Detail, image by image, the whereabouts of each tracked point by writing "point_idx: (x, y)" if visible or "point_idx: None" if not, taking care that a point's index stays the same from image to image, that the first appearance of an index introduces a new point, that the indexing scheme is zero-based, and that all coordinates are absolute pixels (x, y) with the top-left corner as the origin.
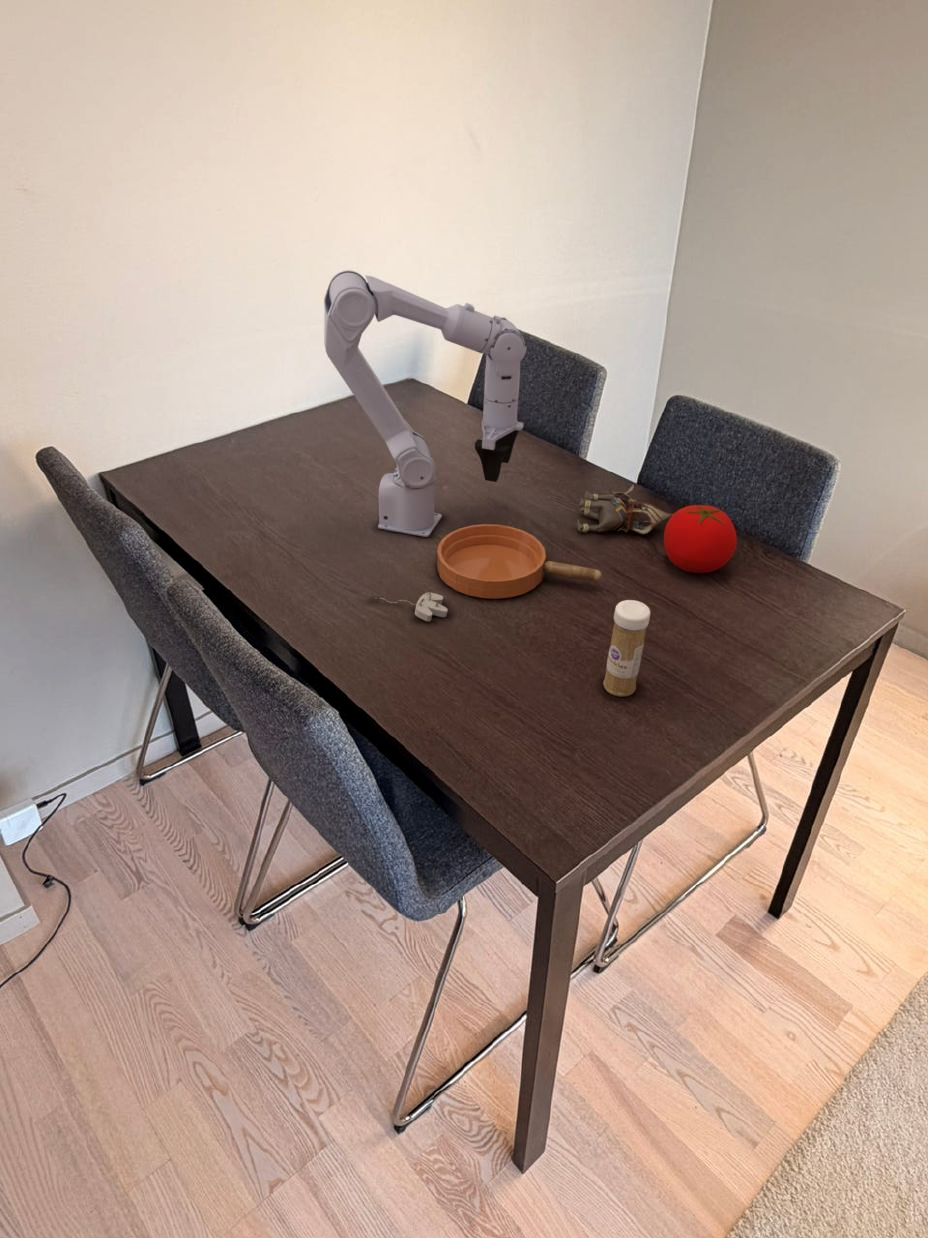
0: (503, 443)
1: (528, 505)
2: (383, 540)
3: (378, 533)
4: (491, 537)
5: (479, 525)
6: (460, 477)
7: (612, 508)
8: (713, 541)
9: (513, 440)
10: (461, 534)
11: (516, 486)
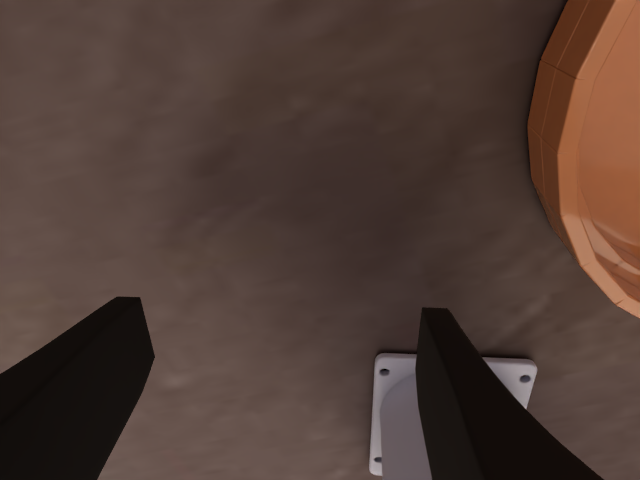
0: (69, 446)
1: (139, 70)
2: None
3: None
4: (577, 157)
5: (580, 238)
6: None
7: None
8: None
9: (12, 421)
10: (620, 283)
11: (12, 165)
